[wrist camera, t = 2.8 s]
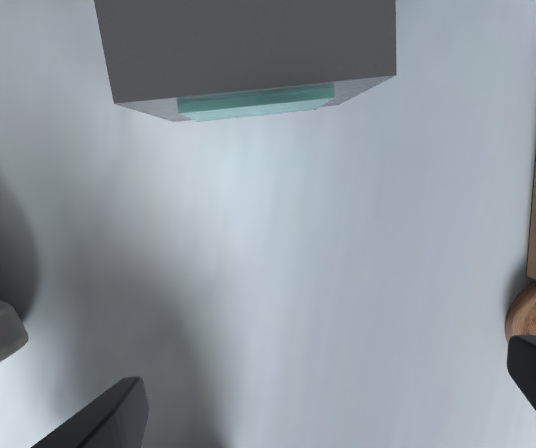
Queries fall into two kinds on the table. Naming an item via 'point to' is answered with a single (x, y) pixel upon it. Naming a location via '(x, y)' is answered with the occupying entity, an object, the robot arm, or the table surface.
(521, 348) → the robot arm
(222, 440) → the table surface
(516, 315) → the copper dome
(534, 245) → the board
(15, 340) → the pipe fitting
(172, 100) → the box
